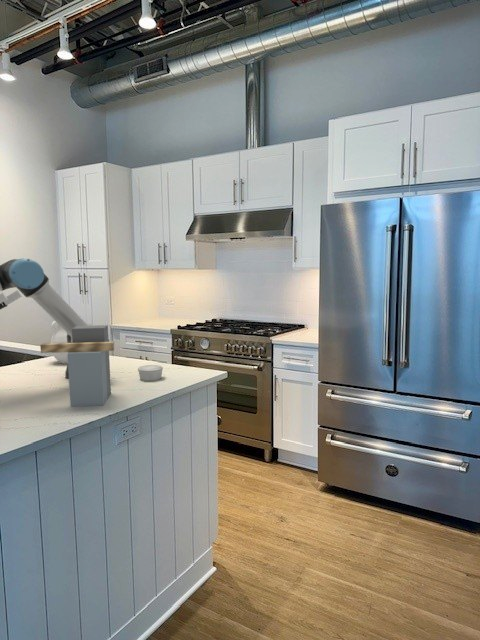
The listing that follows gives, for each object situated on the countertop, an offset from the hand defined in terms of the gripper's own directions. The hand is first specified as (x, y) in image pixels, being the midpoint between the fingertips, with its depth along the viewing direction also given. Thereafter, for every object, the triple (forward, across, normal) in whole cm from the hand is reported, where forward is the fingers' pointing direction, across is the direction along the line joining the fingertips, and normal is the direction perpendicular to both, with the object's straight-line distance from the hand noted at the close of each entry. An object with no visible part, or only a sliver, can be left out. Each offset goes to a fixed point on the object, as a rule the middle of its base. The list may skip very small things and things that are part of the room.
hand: (12, 294), depth 168 cm
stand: (+1, +4, +49) cm, 49 cm away
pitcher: (-22, +78, +35) cm, 88 cm away
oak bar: (+8, 0, +30) cm, 31 cm away
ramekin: (+18, +34, +59) cm, 70 cm away
